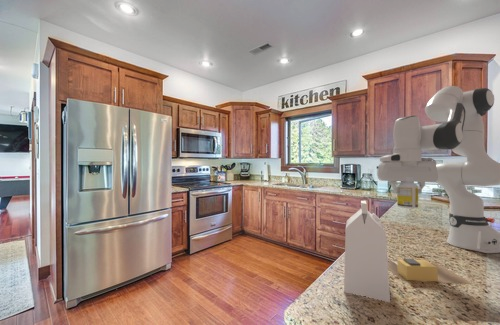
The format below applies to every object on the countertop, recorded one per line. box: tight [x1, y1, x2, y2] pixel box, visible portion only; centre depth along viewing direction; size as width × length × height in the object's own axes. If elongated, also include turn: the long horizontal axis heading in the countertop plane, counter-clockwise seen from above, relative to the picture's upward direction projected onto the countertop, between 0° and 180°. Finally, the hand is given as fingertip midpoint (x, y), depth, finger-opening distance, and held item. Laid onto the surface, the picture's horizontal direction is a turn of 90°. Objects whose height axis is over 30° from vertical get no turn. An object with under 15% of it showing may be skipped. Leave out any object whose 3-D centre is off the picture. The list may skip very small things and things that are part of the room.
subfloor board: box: [388, 261, 473, 285], centre depth 73 cm, size 20×14×1 cm
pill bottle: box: [396, 177, 419, 210], centre depth 83 cm, size 6×6×12 cm
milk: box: [343, 200, 391, 303], centre depth 67 cm, size 12×12×26 cm
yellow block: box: [396, 258, 438, 282], centre depth 70 cm, size 9×5×5 cm, turn 84°
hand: (407, 193), depth 83 cm, fingers closed on pill bottle, 6 cm apart
